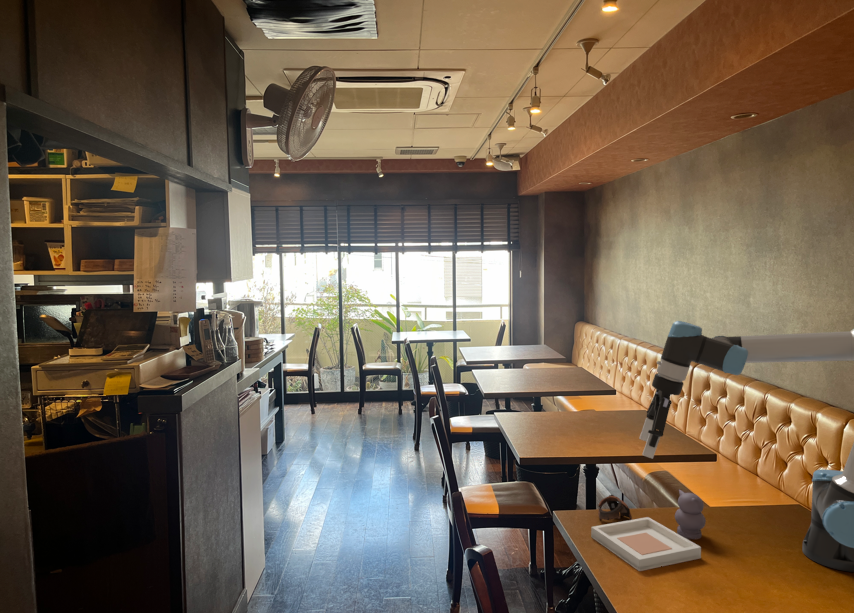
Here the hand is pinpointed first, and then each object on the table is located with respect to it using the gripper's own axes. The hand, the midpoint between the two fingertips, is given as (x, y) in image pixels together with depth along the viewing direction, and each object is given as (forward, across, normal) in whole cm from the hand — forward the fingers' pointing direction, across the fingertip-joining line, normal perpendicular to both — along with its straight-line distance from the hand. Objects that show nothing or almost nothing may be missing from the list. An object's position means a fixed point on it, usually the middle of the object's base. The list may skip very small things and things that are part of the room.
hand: (645, 448), depth 158 cm
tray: (+26, +4, +7) cm, 27 cm away
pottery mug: (+29, -12, 0) cm, 31 cm away
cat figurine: (+23, -8, +20) cm, 31 cm away
